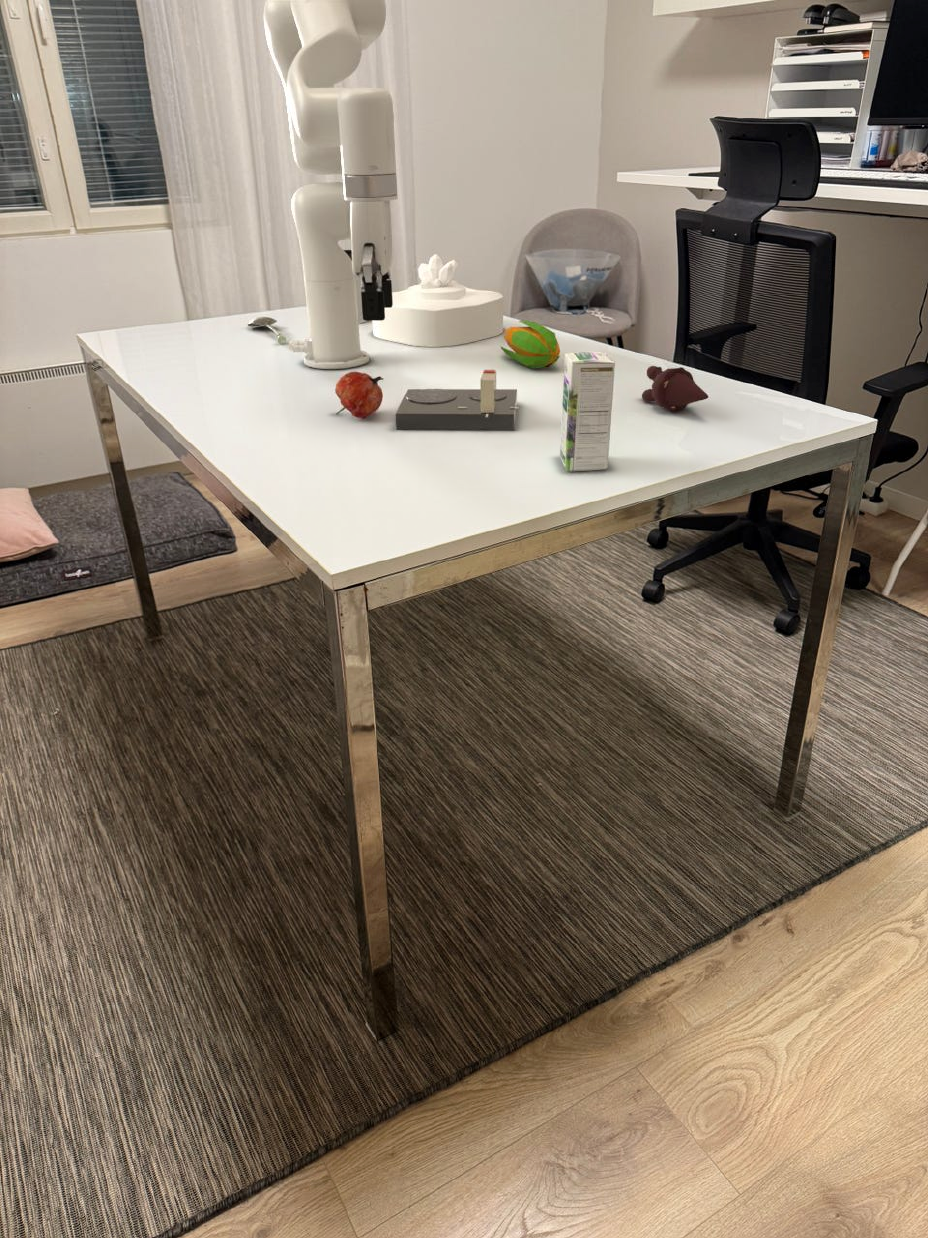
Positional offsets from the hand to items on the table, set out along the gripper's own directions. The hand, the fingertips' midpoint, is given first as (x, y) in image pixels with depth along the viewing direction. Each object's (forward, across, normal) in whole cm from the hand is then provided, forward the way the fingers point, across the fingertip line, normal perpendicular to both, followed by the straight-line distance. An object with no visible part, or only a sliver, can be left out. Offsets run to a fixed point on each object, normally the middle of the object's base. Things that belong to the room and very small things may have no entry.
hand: (378, 313), depth 139 cm
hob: (+16, 0, +12) cm, 20 cm away
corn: (+16, -36, +23) cm, 46 cm away
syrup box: (+16, +22, +30) cm, 41 cm away
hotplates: (+14, -3, +11) cm, 18 cm away
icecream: (+16, -3, +46) cm, 49 cm away
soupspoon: (+16, -63, -33) cm, 73 cm away
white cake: (+16, -64, +4) cm, 66 cm away
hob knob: (+13, +4, +17) cm, 22 cm away
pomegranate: (+16, -1, -4) cm, 17 cm away
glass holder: (+16, -80, -18) cm, 84 cm away
